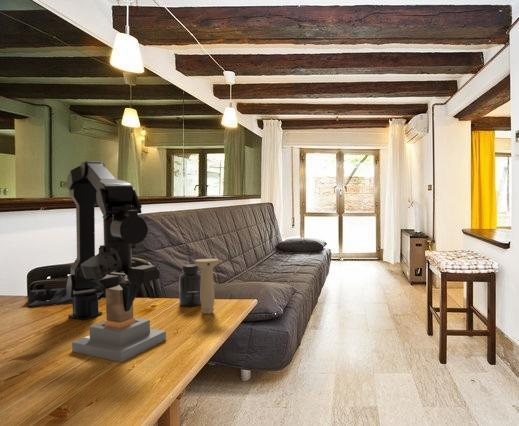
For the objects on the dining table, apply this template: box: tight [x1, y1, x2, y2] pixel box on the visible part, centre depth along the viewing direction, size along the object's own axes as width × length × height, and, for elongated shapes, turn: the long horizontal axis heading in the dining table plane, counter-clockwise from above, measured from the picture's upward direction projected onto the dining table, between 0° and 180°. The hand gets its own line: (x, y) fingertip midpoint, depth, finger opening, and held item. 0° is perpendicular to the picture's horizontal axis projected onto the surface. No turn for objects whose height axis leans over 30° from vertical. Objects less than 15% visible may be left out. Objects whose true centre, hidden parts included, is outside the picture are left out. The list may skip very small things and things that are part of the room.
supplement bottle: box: [178, 263, 201, 308], centre depth 125 cm, size 7×7×12 cm
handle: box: [194, 258, 219, 315], centre depth 115 cm, size 5×6×15 cm
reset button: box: [103, 316, 136, 329], centre depth 91 cm, size 5×5×3 cm
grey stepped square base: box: [71, 317, 167, 363], centre depth 91 cm, size 14×14×5 cm
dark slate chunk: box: [27, 287, 104, 307], centre depth 134 cm, size 15×22×5 cm
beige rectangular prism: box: [105, 285, 134, 322], centre depth 91 cm, size 4×4×7 cm
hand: (119, 310), depth 91 cm, fingers closed on beige rectangular prism, 4 cm apart
